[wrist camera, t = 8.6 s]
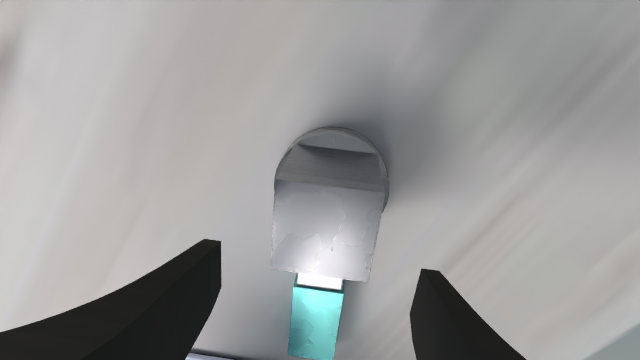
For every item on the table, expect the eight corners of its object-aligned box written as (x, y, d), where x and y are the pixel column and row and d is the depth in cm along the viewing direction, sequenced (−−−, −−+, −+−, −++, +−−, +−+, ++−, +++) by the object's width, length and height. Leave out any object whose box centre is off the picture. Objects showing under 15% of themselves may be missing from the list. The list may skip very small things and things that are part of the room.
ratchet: (355, 346, 26) (355, 398, 22) (270, 333, 26) (256, 382, 22) (395, 134, 19) (405, 157, 16) (282, 120, 20) (265, 140, 16)
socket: (364, 225, 20) (368, 282, 15) (289, 215, 20) (270, 268, 16) (377, 153, 18) (385, 193, 14) (294, 143, 18) (275, 179, 14)
